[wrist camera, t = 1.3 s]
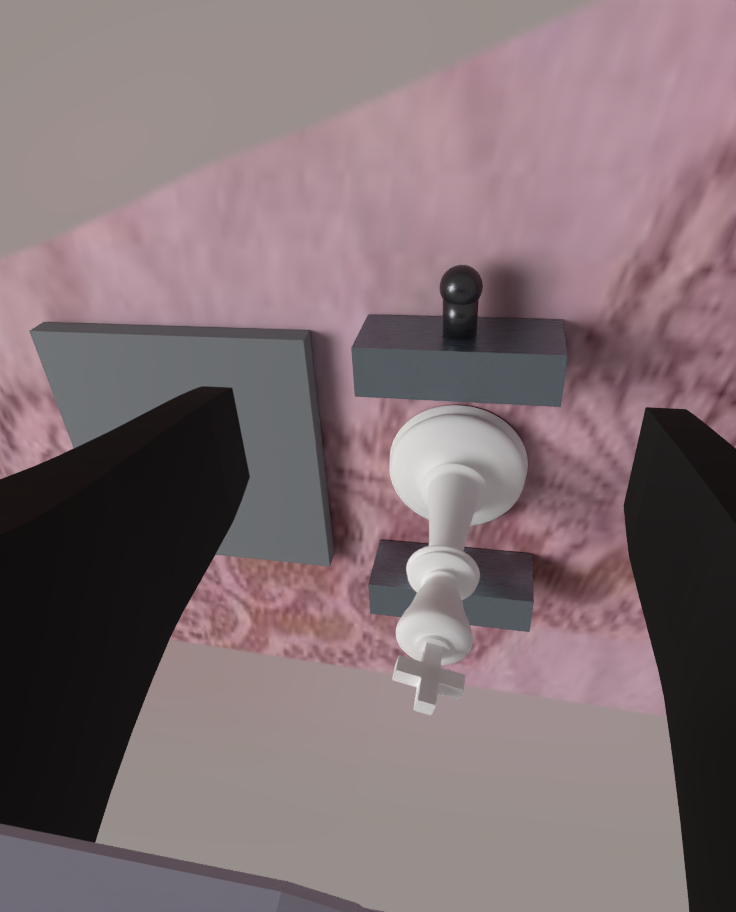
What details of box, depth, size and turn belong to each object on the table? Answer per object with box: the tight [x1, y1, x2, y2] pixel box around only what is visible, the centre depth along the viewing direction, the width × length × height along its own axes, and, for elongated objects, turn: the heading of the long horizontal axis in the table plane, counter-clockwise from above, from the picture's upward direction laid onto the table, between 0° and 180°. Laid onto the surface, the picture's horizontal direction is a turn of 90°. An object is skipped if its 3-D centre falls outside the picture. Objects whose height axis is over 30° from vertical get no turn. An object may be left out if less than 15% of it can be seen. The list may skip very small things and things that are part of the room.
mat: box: [30, 322, 334, 566], centre depth 24 cm, size 10×10×1 cm
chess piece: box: [390, 405, 528, 715], centre depth 19 cm, size 5×5×10 cm
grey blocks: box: [352, 265, 568, 632], centre depth 21 cm, size 6×13×2 cm, turn 3°
